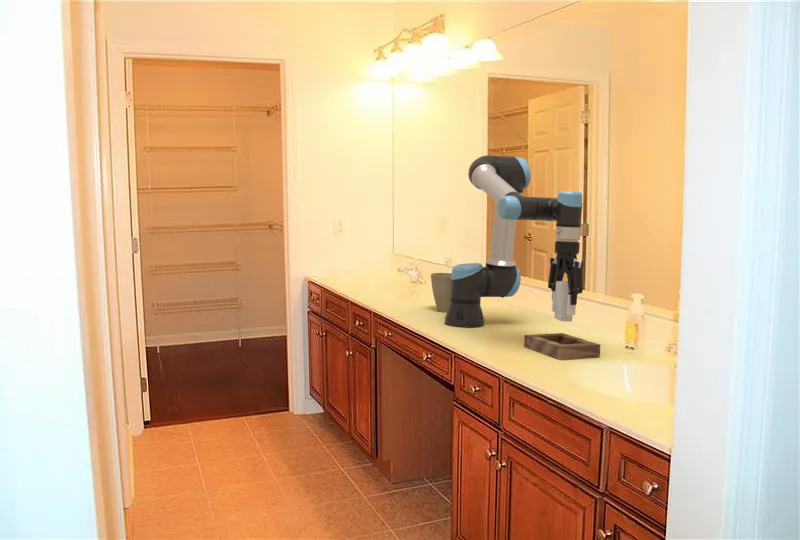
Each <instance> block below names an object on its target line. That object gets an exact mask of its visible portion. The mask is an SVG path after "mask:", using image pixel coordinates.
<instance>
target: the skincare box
mask: <svg viewBox="0 0 800 540" xmlns="http://www.w3.org/2000/svg"><path fill="white" fill-rule="evenodd" d="M573 290H574V289H573ZM568 293H570V291H569V285H568V280H562V281H556V290H555V312H554V317H553V318H555V319H556V320H558V321H560V322H572V321H573V315H567V300H568Z"/></svg>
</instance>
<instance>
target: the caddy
mask: <svg viewBox="0 0 800 540" xmlns="http://www.w3.org/2000/svg"><path fill="white" fill-rule="evenodd" d="M523 339H524V341H523V342H524V343H523V348H525V349H529V350H531V351H534V352H537V353H540V354H542V355H545V356H548V357H550V358H554V359H556V360H559V361H568V360H569V361H570V360H580V359H583V360H584V359H594V358H600V355H601V344H599V343H596V342H594V341H589V340H586V339H582V338H580V337H576V336H573V335H569V334H567V333H562V332H557V333H555V332H554V333H538V334H524V338H523Z"/></svg>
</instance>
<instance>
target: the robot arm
mask: <svg viewBox="0 0 800 540" xmlns="http://www.w3.org/2000/svg"><path fill="white" fill-rule="evenodd" d="M467 175H468V179H469V181H470V183H471V184H472V186H474V188H476V189H478V190H482V191H483V192H484V193H485V194H486V195H487V196H488V197H489V198H490V199H491V200H492V201H494V210H493V211H494V212H493V224H492V233H491V244H490V245H491V247H490V257H489V259H487V260H486V261H485V266H483V264H482V263H479V262H472V263H471V262H470V263H461V264H457V265H455V266H453V267H452V269H451V273H452V275H451V296H450V305H449V308H448V311H447V312H445V313H446V314H445V316H444V324H446V325H448V326H452V327H459V328H460V327H461V328H479V327H483V326H484V325H485V317H484V313H483V310H482V307H481V302H482V301H481V299H482V298H497V297H498V298H506V297H507V298H509V297H513V296H515V294H516V293H518V291H519V288H520V286H521V281H522V279H521V278H522V275H521V271H520V269H519V268H518V267H517V263H516V262H515V260H514V258H513V257H514V248H515V237H516V225H517V221H542V222H543V221H544V222H556V224H555V226H556V227H555V239H556V241H554V252H555V253H556V256H555V257H550V258H549V261H550V262H549V263H550V267H549V274H548V283H547V288H548V289H550V290H551V300H552V303H551V312H552V313H555V290H556V281H564V277H565V274H566V277H567V279H566V280H567V281H568V285H569V291H570V293H568V300H567V315H572V316H576V305H577V304H578V295H579V294H583V290H584V289H583V268H584V261H583V260H582V261H580V260H578V258H577V255H578V254H580V247H581V246H580V245H581V244H580V243H581V242H579V241H580V240H581V234H582V233H581V231H582V229H581V225H582V217H583V215H582V214H583V204H584V203H583V193H582V192H580V191H576V190H575V191H572V190H561V191H559V192H558V194H557V197H542V196H537V197H536V196H523V194H524V190H525V189H527V188H528V187H529V185H530V183H531V169H530V165H529V162H528V161H527V160H526V159H525V158H523V157H518V156H507V155H506V156H503V155H492V154H491V155H490V154H488V155H486V154H485V155H482V156H479V157H478V158H476V159H474V161H472V163H471V164H470V166H469V168H468V174H467ZM573 289H574V290H573Z"/></svg>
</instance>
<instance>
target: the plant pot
mask: <svg viewBox="0 0 800 540" xmlns="http://www.w3.org/2000/svg"><path fill="white" fill-rule="evenodd" d="M451 275H452V272H434V273H433V272H431V273H430V280H431V289H432V293H433V298H434V302H435V306H436V309H437V311H438V312H440V311H441V312H442V313H447V311H448V308H449V305H450V296H451Z"/></svg>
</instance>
